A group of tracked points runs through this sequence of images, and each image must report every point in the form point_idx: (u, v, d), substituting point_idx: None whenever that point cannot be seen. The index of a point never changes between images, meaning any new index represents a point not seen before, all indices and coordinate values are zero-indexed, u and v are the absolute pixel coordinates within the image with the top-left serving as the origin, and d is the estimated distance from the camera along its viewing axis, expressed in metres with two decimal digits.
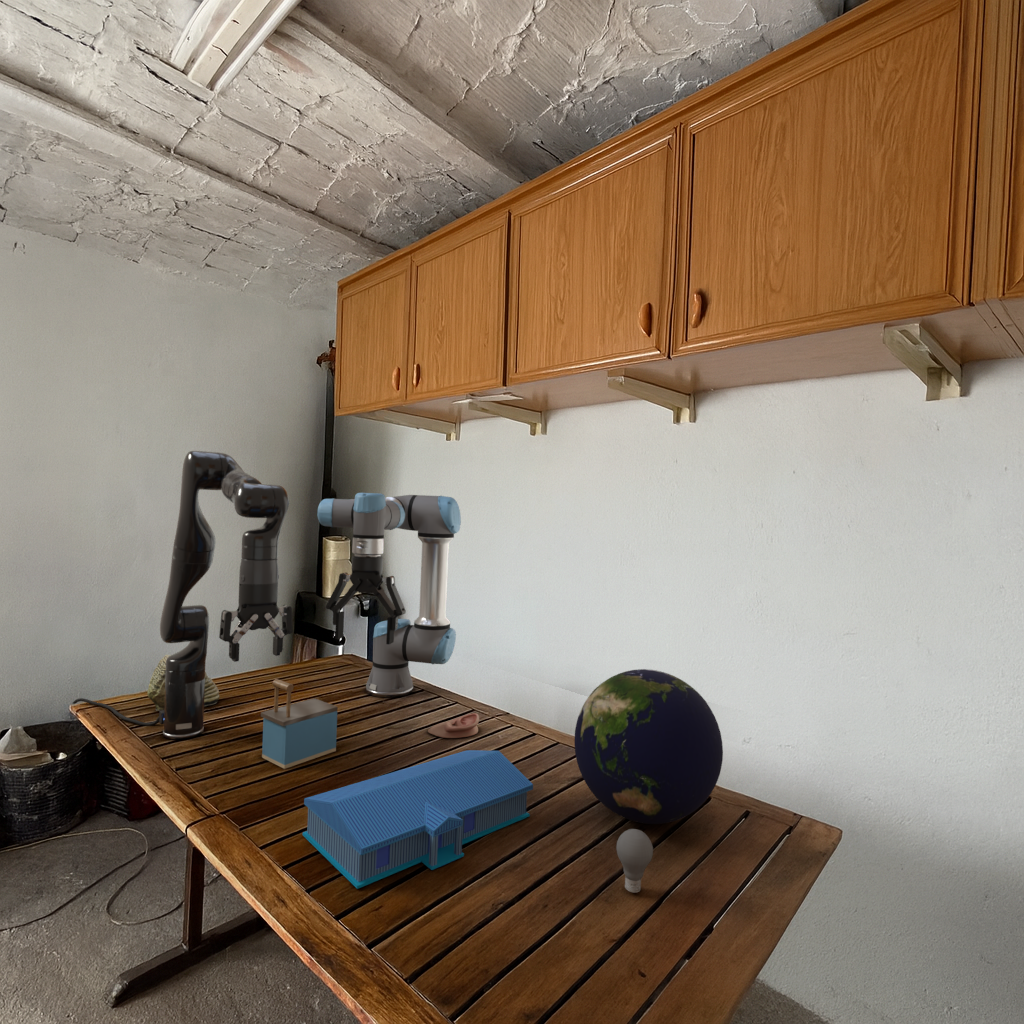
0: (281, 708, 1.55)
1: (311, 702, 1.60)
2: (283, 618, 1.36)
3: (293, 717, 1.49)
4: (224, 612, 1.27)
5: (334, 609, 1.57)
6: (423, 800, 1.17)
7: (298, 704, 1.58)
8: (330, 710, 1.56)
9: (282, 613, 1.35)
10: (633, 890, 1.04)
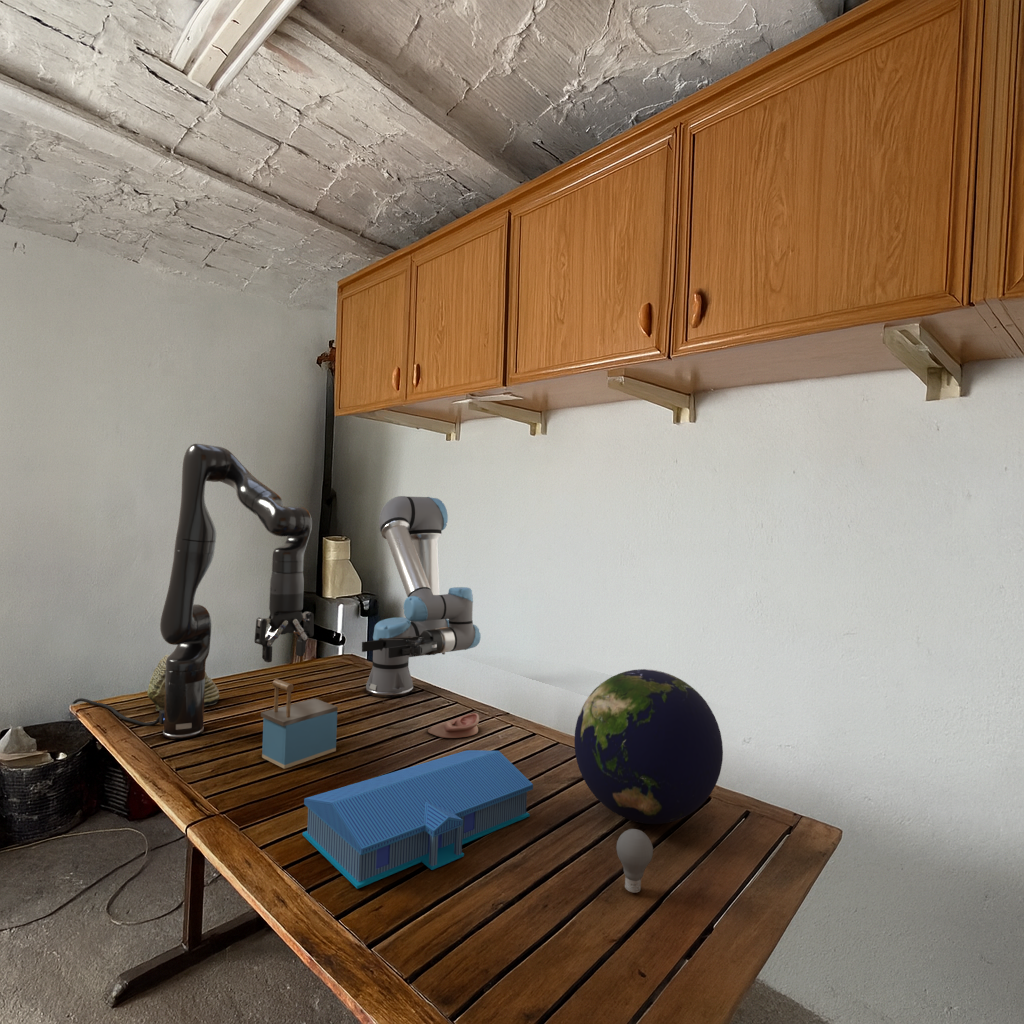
0: (281, 708, 1.55)
1: (311, 702, 1.60)
2: None
3: (293, 717, 1.49)
4: None
5: None
6: (423, 800, 1.17)
7: (298, 704, 1.58)
8: (330, 710, 1.56)
9: None
10: (633, 890, 1.04)
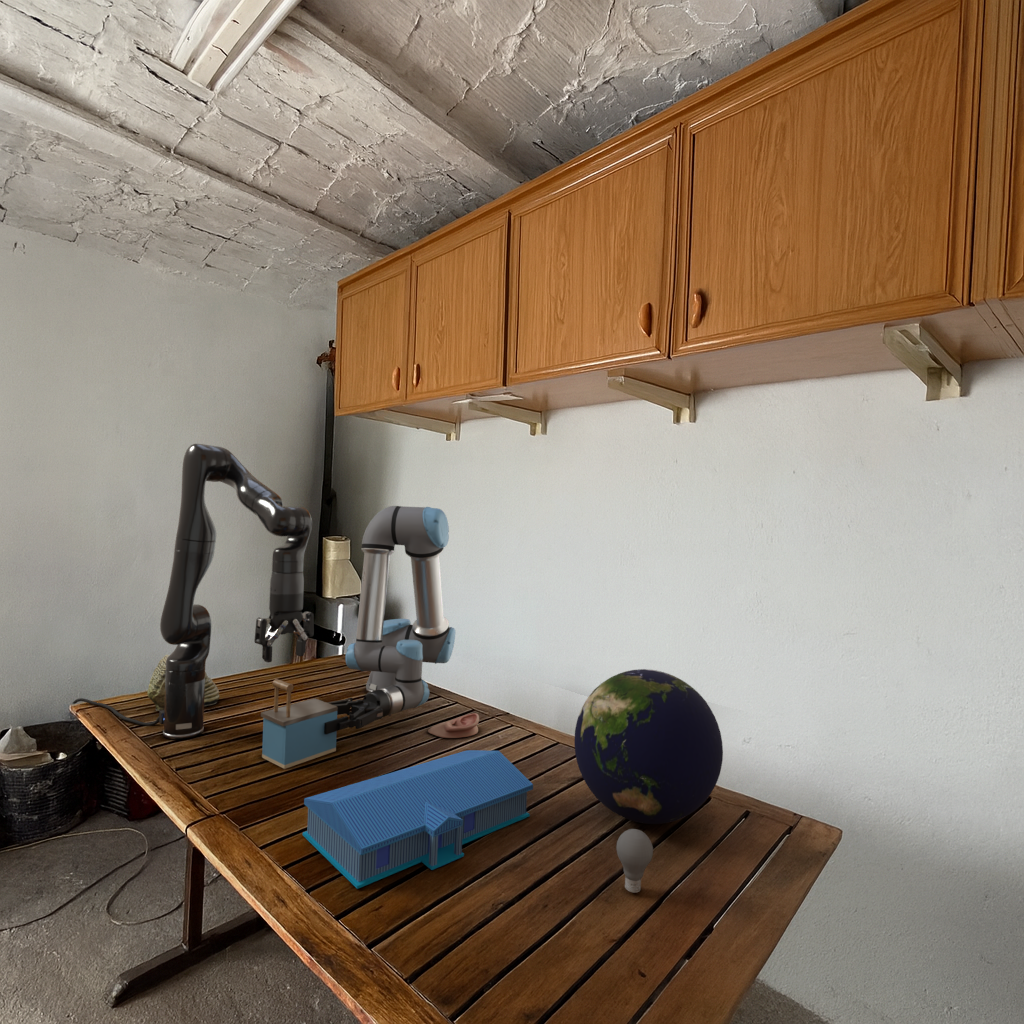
0: (281, 708, 1.55)
1: (311, 702, 1.60)
2: None
3: (293, 717, 1.49)
4: None
5: None
6: (423, 800, 1.17)
7: (298, 704, 1.58)
8: (330, 710, 1.56)
9: None
10: (633, 890, 1.04)
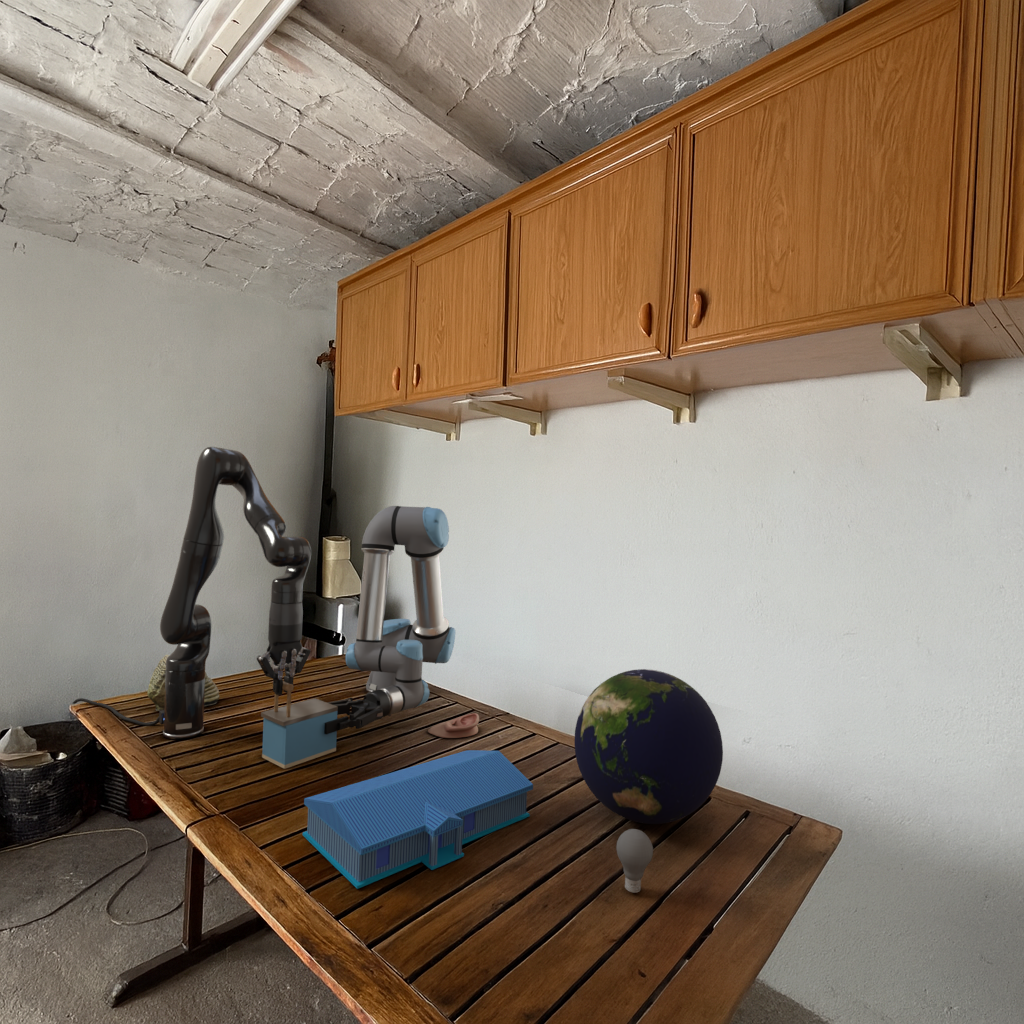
0: (281, 708, 1.55)
1: (312, 702, 1.60)
2: None
3: (293, 717, 1.49)
4: None
5: None
6: (423, 800, 1.17)
7: (298, 704, 1.58)
8: (330, 710, 1.56)
9: None
10: (633, 890, 1.04)
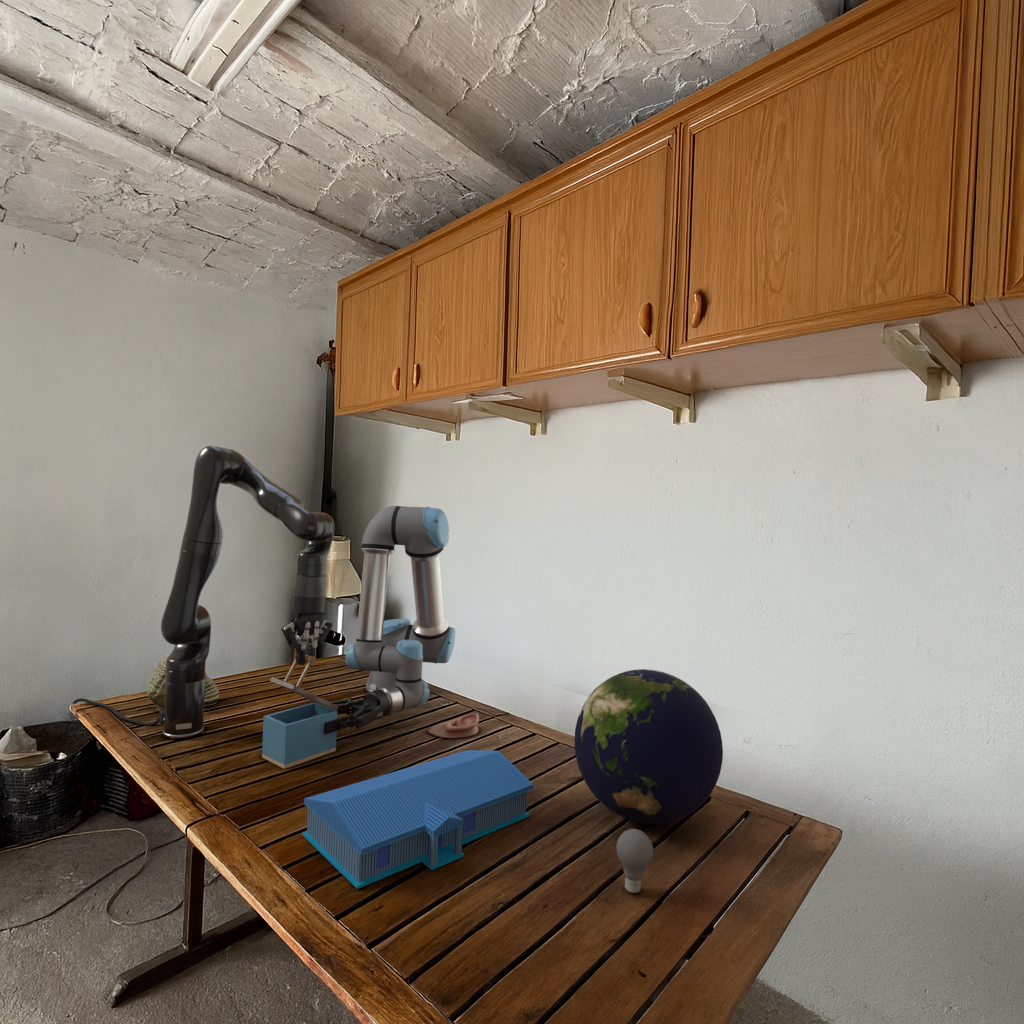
0: None
1: None
2: None
3: (302, 689, 1.50)
4: None
5: None
6: (423, 800, 1.17)
7: None
8: (331, 705, 1.56)
9: None
10: (633, 890, 1.04)
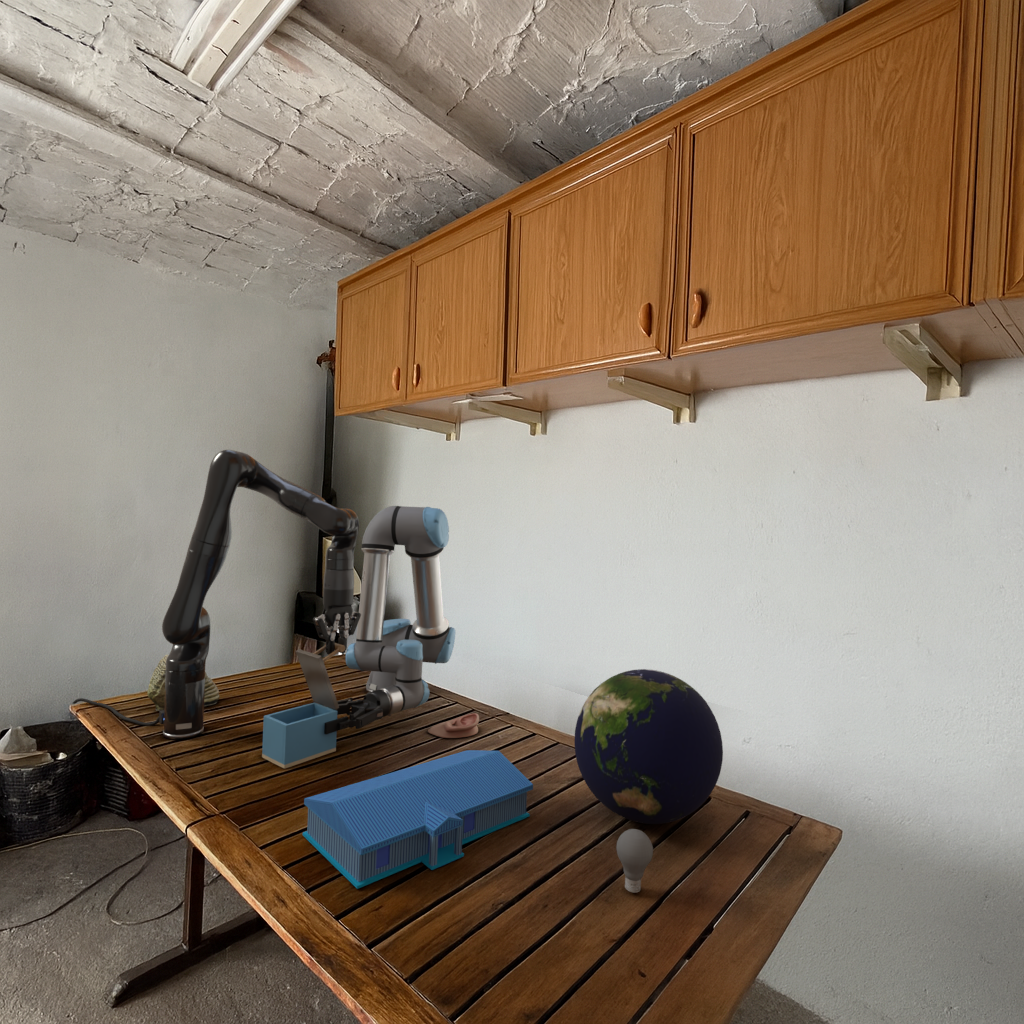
0: None
1: None
2: None
3: None
4: None
5: None
6: (423, 800, 1.17)
7: None
8: (335, 701, 1.57)
9: None
10: (633, 890, 1.04)
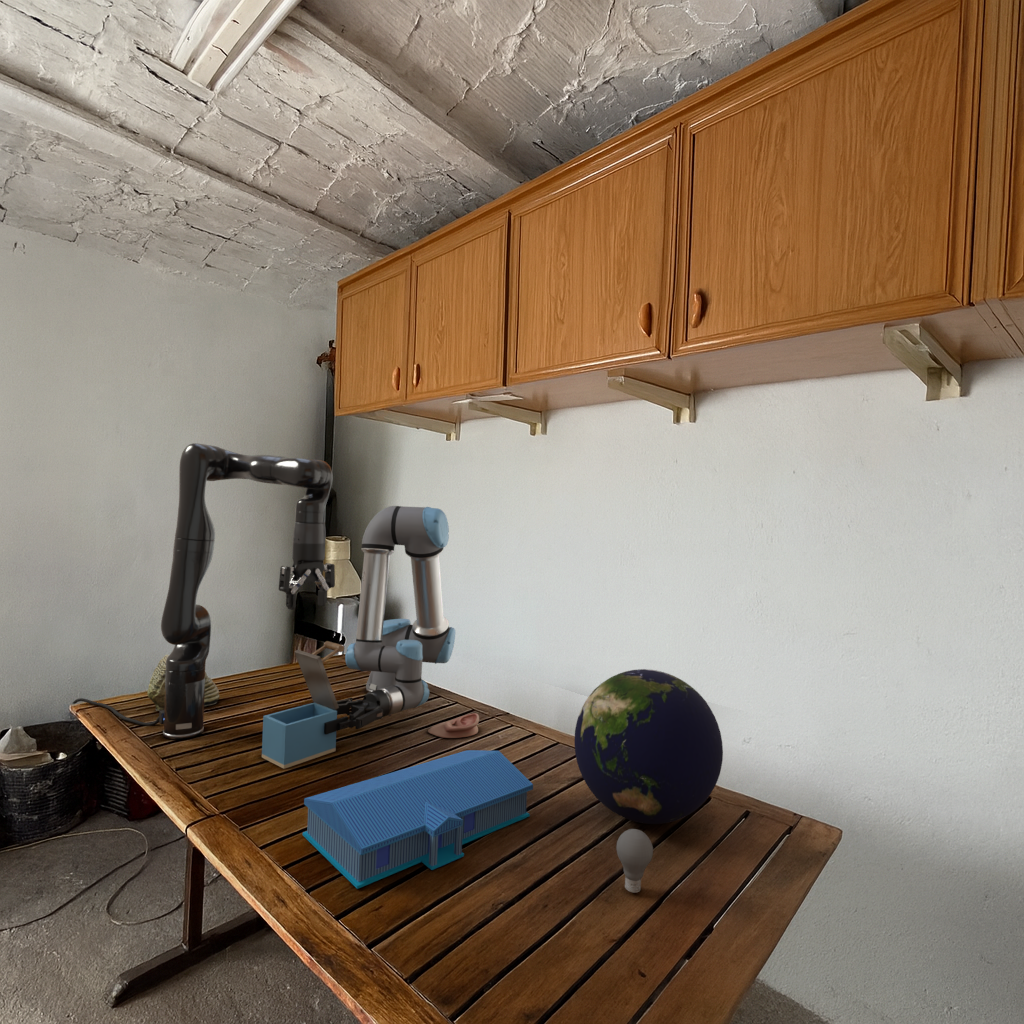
0: None
1: None
2: None
3: None
4: None
5: None
6: (423, 800, 1.17)
7: None
8: (334, 701, 1.57)
9: None
10: (633, 890, 1.04)
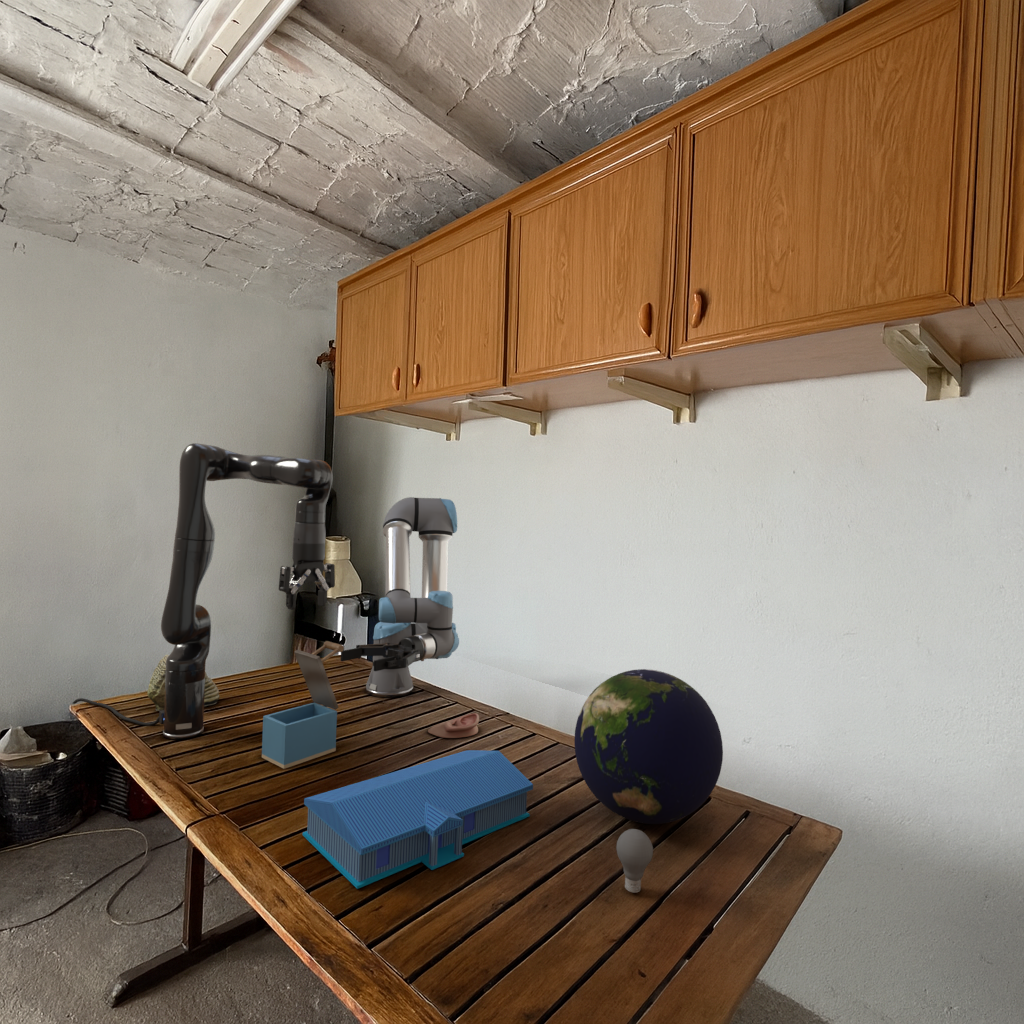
0: None
1: None
2: None
3: None
4: None
5: None
6: (423, 800, 1.17)
7: None
8: (334, 701, 1.57)
9: None
10: (633, 890, 1.04)
